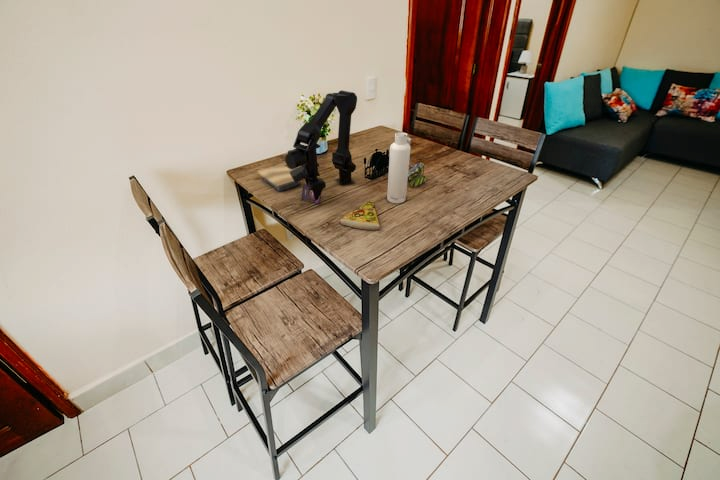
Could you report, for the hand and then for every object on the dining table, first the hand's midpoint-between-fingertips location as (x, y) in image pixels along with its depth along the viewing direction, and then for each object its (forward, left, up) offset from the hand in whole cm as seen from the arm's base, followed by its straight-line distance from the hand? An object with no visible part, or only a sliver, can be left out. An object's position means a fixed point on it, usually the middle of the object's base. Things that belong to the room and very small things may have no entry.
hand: (313, 195), depth 144 cm
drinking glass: (+25, -59, -2) cm, 64 cm away
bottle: (-14, -33, -2) cm, 36 cm away
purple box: (0, 0, -2) cm, 2 cm away
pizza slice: (-21, -15, -2) cm, 26 cm away
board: (+22, +9, +1) cm, 24 cm away
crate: (+22, +9, -2) cm, 24 cm away
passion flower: (-4, -49, -2) cm, 49 cm away
